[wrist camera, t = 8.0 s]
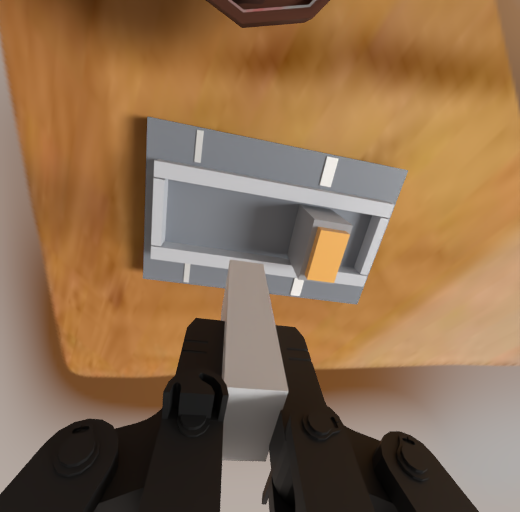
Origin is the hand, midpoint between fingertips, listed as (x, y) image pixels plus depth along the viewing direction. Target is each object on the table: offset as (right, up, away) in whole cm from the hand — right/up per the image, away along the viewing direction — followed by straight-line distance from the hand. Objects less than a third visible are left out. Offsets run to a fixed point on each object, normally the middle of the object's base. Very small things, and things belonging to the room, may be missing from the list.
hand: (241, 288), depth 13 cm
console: (+2, +5, +14) cm, 15 cm away
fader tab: (+5, +4, +13) cm, 14 cm away
